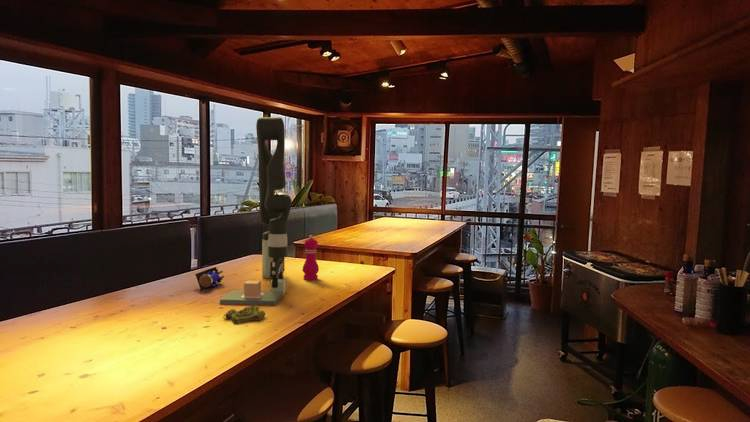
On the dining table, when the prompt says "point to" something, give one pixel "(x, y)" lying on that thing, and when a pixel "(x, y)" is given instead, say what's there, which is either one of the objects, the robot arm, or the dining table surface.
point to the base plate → (251, 298)
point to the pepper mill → (310, 260)
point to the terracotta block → (252, 288)
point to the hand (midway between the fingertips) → (277, 285)
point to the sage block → (279, 286)
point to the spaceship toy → (245, 314)
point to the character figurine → (209, 278)
